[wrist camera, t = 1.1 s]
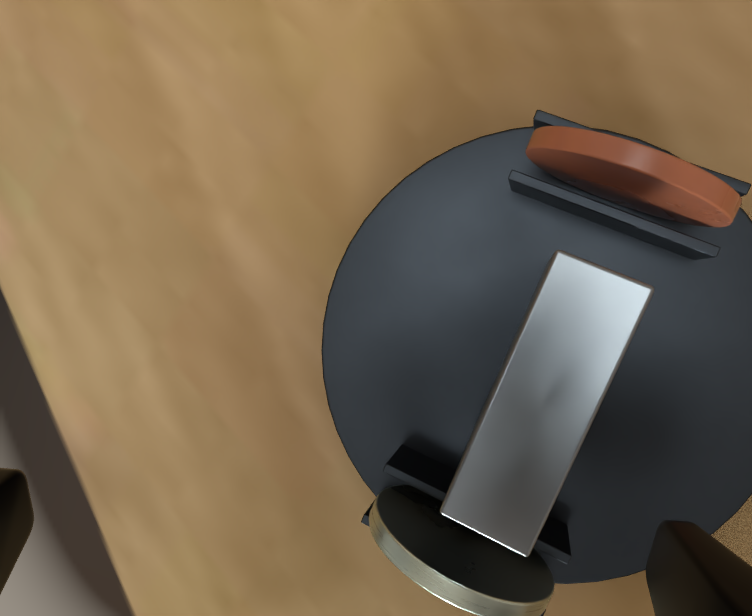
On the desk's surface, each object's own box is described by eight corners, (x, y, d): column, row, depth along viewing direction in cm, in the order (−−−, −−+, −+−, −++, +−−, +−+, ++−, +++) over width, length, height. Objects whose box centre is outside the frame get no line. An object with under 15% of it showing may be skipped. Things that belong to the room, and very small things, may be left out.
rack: (881, 230, 19) (1184, 185, 10) (661, 655, 21) (752, 926, 12) (422, 69, 22) (348, -71, 13) (270, 452, 24) (118, 551, 15)
